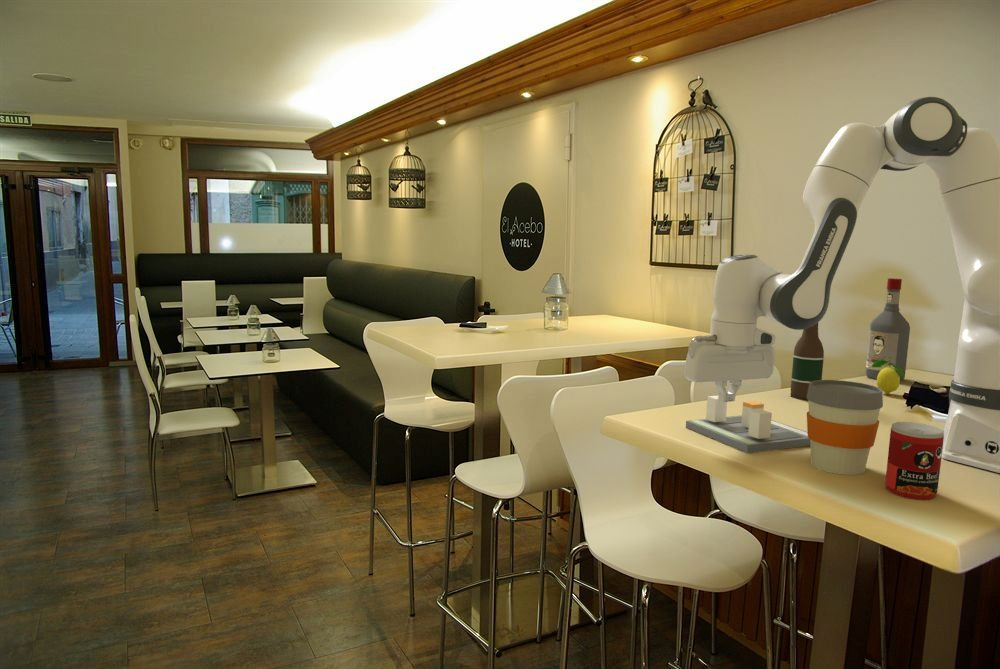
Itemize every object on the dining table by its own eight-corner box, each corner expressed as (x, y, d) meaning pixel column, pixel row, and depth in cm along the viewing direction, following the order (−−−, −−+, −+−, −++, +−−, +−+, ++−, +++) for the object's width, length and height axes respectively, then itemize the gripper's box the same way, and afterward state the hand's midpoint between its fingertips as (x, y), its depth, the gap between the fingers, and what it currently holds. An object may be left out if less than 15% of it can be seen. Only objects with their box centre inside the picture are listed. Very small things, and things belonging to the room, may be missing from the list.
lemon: (868, 391, 200) (872, 355, 199) (889, 391, 200) (892, 355, 199) (882, 396, 193) (886, 359, 192) (903, 397, 194) (907, 360, 192)
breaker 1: (725, 421, 156) (727, 398, 155) (714, 422, 155) (716, 399, 154) (717, 417, 159) (718, 395, 158) (706, 418, 158) (707, 396, 157)
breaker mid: (762, 427, 152) (763, 404, 151) (750, 428, 151) (752, 405, 150) (752, 423, 154) (754, 400, 154) (741, 425, 153) (743, 401, 153)
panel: (820, 443, 148) (821, 436, 148) (747, 453, 140) (747, 445, 140) (754, 420, 165) (754, 413, 165) (685, 427, 158) (686, 420, 158)
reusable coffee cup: (856, 457, 140) (864, 380, 138) (889, 479, 127) (898, 395, 125) (790, 455, 140) (797, 378, 138) (817, 476, 128) (824, 393, 125)
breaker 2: (769, 437, 144) (771, 412, 144) (758, 438, 143) (760, 414, 142) (759, 433, 147) (761, 409, 146) (748, 435, 146) (749, 410, 145)
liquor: (879, 374, 225) (889, 277, 221) (908, 380, 217) (919, 279, 213) (861, 376, 221) (870, 277, 216) (889, 382, 213) (900, 280, 208)
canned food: (894, 498, 118) (901, 432, 116) (877, 482, 126) (883, 420, 124) (945, 502, 117) (953, 436, 115) (925, 485, 125) (932, 423, 123)
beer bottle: (826, 400, 187) (834, 308, 183) (796, 400, 187) (804, 307, 183) (813, 394, 195) (821, 304, 191) (784, 393, 195) (791, 304, 191)
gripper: (700, 338, 141) (694, 408, 143) (782, 336, 149) (775, 402, 151) (680, 333, 146) (675, 400, 149) (760, 331, 154) (754, 394, 156)
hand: (726, 401), depth 150 cm, fingers closed
